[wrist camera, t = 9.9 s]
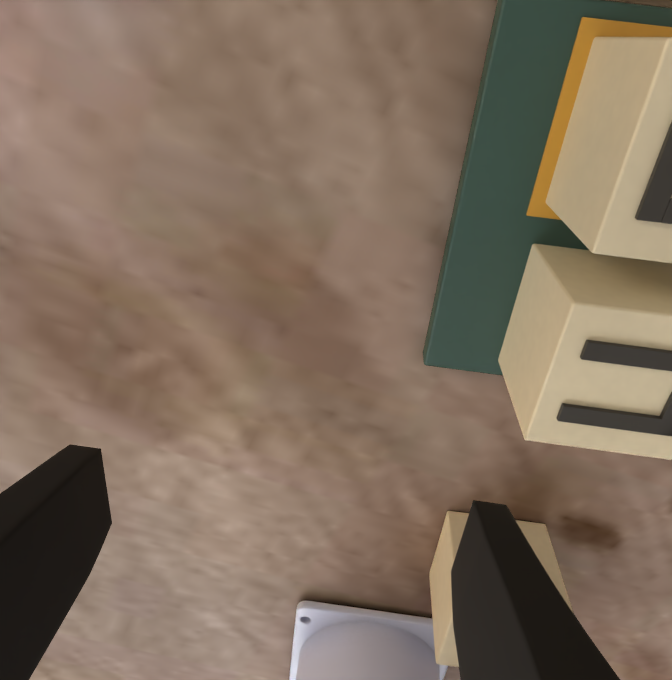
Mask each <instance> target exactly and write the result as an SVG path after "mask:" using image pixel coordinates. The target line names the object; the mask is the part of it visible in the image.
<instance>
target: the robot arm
mask: <svg viewBox="0 0 672 680" xmlns="http://www.w3.org/2000/svg"><path fill="white" fill-rule="evenodd" d="M111 524H112V521H111V514H110V507H109V501H108V494H107V487H106V481H105V474H104V467H103V461H102V454H101V449H98V448H91V447H84V446H77V445H69V446H67V447H66V448H64V449H63V450H61V451H60V452H58V453H57V454H56V455H54V456H53V457H51V458H50V459H48V460H47V461H46V462H44V463H43V464H41V465H40V466H39V467H37V468H36V469H34V470H33V471H32V472H30V473H29V474H27V475H26V476H25V477H23V478H22V479H20V480H19V481H18V482H16V483H15V484H13V485H12V486H11V487H9V488H8V489H6V490H5V491H3V492H2V493H1V494H0V680H29V679H30V677H31V675H32V673H33V672H34V670H35V668H36V667H37V665H38V663H39V661H40V660H41V658H42V656H43V655H44V653H45V651H46V649H47V648H48V646H49V644H50V642H51V641H52V639H53V637H54V636H55V634H56V632H57V630H58V629H59V627H60V625H61V624H62V622H63V620H64V618H65V617H66V615H67V613H68V612H69V610H70V608H71V606H72V605H73V603H74V601H75V599H76V598H77V596H78V594H79V592H80V591H81V589H82V587H83V585H84V584H85V582H86V580H87V578H88V576H89V575H90V573H91V570H92V568H93V566H94V564H95V561H96V559H97V557H98V555H99V553H100V550H101V548H102V546H103V543H104V541H105V538H106V536H107V533H108V531H109V529H110V526H111ZM451 589H452V613H453V629H454V636H455V643H456V650H457V656H458V663H459V670H460V677H461V680H620V679H619V677H618V676H617V675H616V673H615V672H614V671H613V669H612V668H611V666H610V665H609V664H608V662H607V661H606V660H605V658H604V657H603V655H602V654H601V653H600V651H599V650H598V648H597V647H596V646H595V644H594V643H593V641H592V640H591V639H590V637H589V636H588V634H587V633H586V631H585V630H584V628H583V627H582V626H581V624H580V623H579V621H578V620H577V618H576V617H575V615H574V614H573V612H572V611H571V609H570V608H569V606H568V604H567V603H566V601H565V600H564V598H563V597H562V595H561V594H560V592H559V591H558V589H557V588H556V586H555V585H554V583H553V581H552V580H551V578H550V577H549V575H548V574H547V572H546V570H545V569H544V567H543V565H542V564H541V562H540V561H539V559H538V557H537V556H536V554H535V552H534V551H533V549H532V547H531V546H530V544H529V542H528V541H527V539H526V537H525V536H524V534H523V532H522V531H521V529H520V527H519V525H518V524H517V522H516V520H515V519H514V517H513V515H512V513H511V512H510V510H509V509H508V507H507V506H506V505H503V504H495V503H488V502H481V501H474V500H473V503H472V506H471V509H470V512H469V516H468V519H467V522H466V525H465V528H464V531H463V535H462V538H461V541H460V544H459V547H458V550H457V553H456V557H455V560H454V563H453V566H452V569H451ZM447 668H448V666H446V665H439V664H436V660H435V646H434V633H433V619H432V618H426V617H419V616H412V615H405V614H398V613H391V612H384V611H377V610H370V609H363V608H356V607H349V606H342V605H335V604H328V603H322V602H315V601H305V600H304V601H301V602H299V603H298V605H297V610H296V619H295V628H294V638H293V647H292V657H291V666H290V676H289V680H443V679H444V676H445V674H446V671H447Z"/></svg>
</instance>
